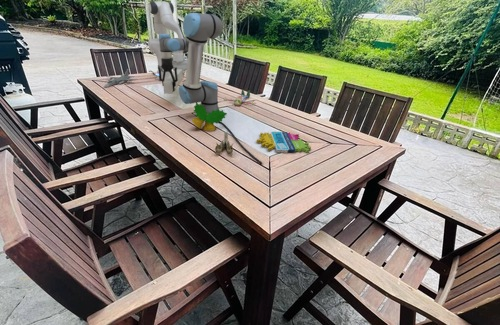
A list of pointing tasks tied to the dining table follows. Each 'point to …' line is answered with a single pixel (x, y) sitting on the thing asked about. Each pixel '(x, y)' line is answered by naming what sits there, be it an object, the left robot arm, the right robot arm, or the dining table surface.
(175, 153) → the dining table surface
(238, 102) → the toy
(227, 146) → the jawbone
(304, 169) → the dining table surface
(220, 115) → the ornament
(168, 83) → the beam
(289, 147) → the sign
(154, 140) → the dining table surface
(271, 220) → the dining table surface
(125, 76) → the airplane
